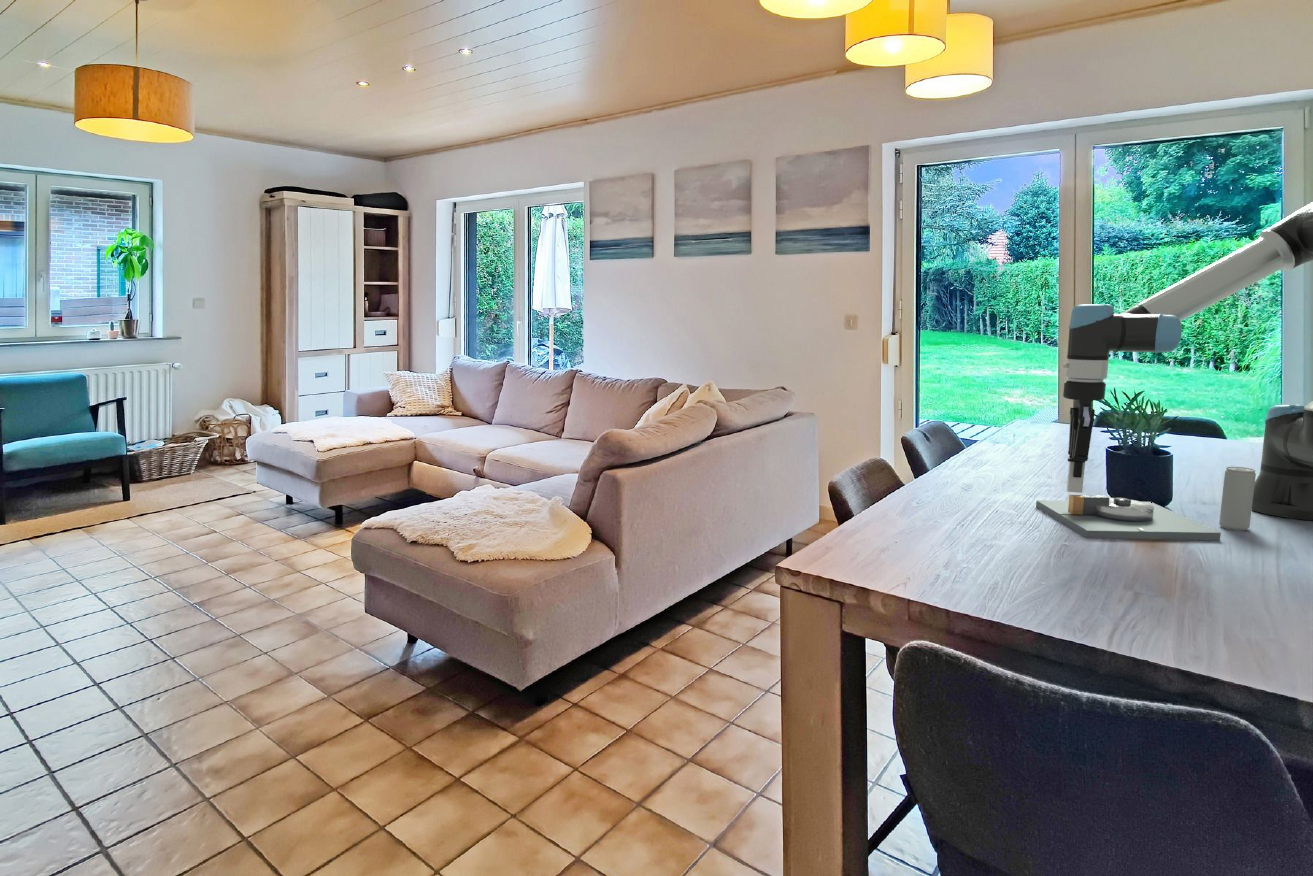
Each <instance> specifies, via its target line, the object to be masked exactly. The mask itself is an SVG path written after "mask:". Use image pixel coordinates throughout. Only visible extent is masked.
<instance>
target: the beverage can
mask: <svg viewBox="0 0 1313 876" xmlns="http://www.w3.org/2000/svg"><path fill="white" fill-rule="evenodd" d="M1225 468H1226V469H1225V471H1224V476H1223V486H1222V495H1221V504H1220V505H1221V506H1220V513H1219V522H1218V524H1219V526H1220V527H1221V528H1223V529H1225V530H1228V531H1229V530H1230V531H1236V532H1237V531H1240V532H1241V531H1242V532H1243V531H1244V530H1245V531H1247V530H1249V529H1250V525H1251V519H1252V511H1253V510H1252V502H1253V494H1254V485H1255V481H1256V475H1257V474H1256V469H1254V468H1249V467H1244V466H1226V467H1225Z"/></svg>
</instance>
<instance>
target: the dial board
mask: <svg viewBox="0 0 1313 876" xmlns="http://www.w3.org/2000/svg"><path fill="white" fill-rule="evenodd" d="M1035 502H1036V503H1035V507H1036V508H1037V509H1038V510H1041V511H1042V512H1043V513H1045V514H1047V515H1048V516H1050V517H1052V518H1054V519H1055V520H1056V521H1058V522H1060V523H1061V524H1063V525H1065V526H1066V527H1068V528H1069V529H1071V530H1073V531H1074V532H1075V533H1077V534H1079V535H1080V536H1083V537H1084V538H1085V539H1108V540H1109V539H1110V540H1111V539H1113V540H1115V539H1117V540H1119V539H1121V540H1125V539H1126V540H1164V541H1165V540H1171V541H1172V540H1173V541H1178V540H1180V541H1221V534H1222V533H1221V532H1220V531H1217V530H1216V529H1213V528H1211V527H1208V526H1207V525H1204V524H1202V523H1199V522H1197V521H1195V520H1193V519H1191V518H1189V517H1186V516H1184V515H1181V514H1179V513H1177V512H1175V511H1172V510H1170V509H1169V508H1166V507H1163V506H1161V505H1159V504H1156V503H1154V502H1152V501H1143V502H1144V503H1147V504H1150V505H1152V506H1153V507H1154V514H1153V518H1152V519H1151V520H1146V521H1127V520H1117V519H1111V518H1106V517H1102V516H1098V515H1089V514H1071V513H1069V512H1068V505H1069V500H1053V499H1052V500H1051V499H1050V500H1049V499H1047V500H1045V499H1044V500H1043V499H1042V500H1040V499H1038V500H1037V499H1036V501H1035ZM1151 502H1152V503H1151Z"/></svg>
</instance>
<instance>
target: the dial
mask: <svg viewBox="0 0 1313 876" xmlns="http://www.w3.org/2000/svg"><path fill="white" fill-rule="evenodd" d="M1068 501H1069V505H1068V512H1069V513H1071V514H1089V515H1098V516H1102V517H1106V518H1111V519H1117V520H1127V521H1146V520H1151V519H1152V518H1153V514H1154V507H1153V506H1152V505H1150V504H1147V503H1144V502H1145V501H1139V500H1135V499H1130V498H1126V497H1109V496H1107V495H1105V494H1104V495H1100V494H1095V495H1094V494H1069V495H1068Z"/></svg>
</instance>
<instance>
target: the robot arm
mask: <svg viewBox="0 0 1313 876" xmlns="http://www.w3.org/2000/svg"><path fill="white" fill-rule="evenodd" d="M1311 261H1313V201H1312V202H1310V203H1308V204H1306V205H1305V206H1304V207H1303V206H1302V208H1300V209H1298V210H1296V211H1295V212H1293V213H1291V214H1290V215H1288V216H1287V217H1285V218H1283V219H1281V220H1280V221H1278V222H1276V223H1275V224H1273V225H1271V226H1269V227H1267V228H1266V229H1264V230H1262V231H1260V233H1259V235H1258V237H1257V239H1256V240H1254V241H1252V242H1251V243H1248V244H1246V245H1244V246H1243V247H1241V248H1239V249H1237V250H1236V251H1234V252H1232V253H1230V254H1228V255H1226V256H1224V257H1222V258H1220V259H1219V260H1217V261H1215V262H1213V263H1212V264H1209V265H1208V266H1206V267H1204V268H1203V269H1200V270H1198V271H1196V272H1194V273H1192V274H1191V275H1189V276H1187V277H1186V278H1184V279H1182V280H1180V281H1178V282H1176V283H1174V284H1173V285H1171V286H1169V287H1167V288H1165V289H1163V290H1161V291H1159V292H1157V293H1156V294H1153V295H1152V296H1150V297H1149V298H1147V299H1144V300H1143V301H1141V302H1139V303H1138V304H1136V305H1134V306H1131V307H1129V308H1128V309H1127V310H1124V311H1122V312H1120V313H1115V311H1114V310H1115V309H1114V306H1113V305H1112V304H1077V305H1074V307H1073V308H1072V309H1071V315H1070V319H1069V325H1068V342H1067V353H1066V354H1067V355H1066V363H1065V362H1064V363H1062V368H1064V369H1065V374H1064V376H1065V378H1067V380H1065V381H1064V383H1063V393H1062V396H1063V398H1065V399H1066V400H1073V406H1070V409H1069V415H1070V416H1069V419H1070V420H1069V434H1068V435H1069V436H1068V437H1069V438H1068V439H1069V440H1068V451H1067V454H1068V457H1067V462H1069V463H1068V470H1067V471H1068V473H1067V482H1066V491H1067V492H1068V493H1078V494H1079V493H1080V494H1082V493H1083V488H1084V479H1085V478H1084V476H1085V468H1086V462H1087V461H1088V460H1089V453H1090V446H1091V445H1090V444H1091V439H1092V432H1093V427H1094V423H1095V421H1096V420H1095V409H1094V408H1093V401H1098V402H1099V401H1102V400H1104V399H1105V397H1106V396H1105V395H1106V387H1107V384H1106V382H1105V381H1104V380H1107V379H1108V368H1109V362H1110V361H1109V358H1110V357H1109V356H1110V352H1115V353H1116V352H1127V353H1129V352H1130V353H1155V354H1158V353H1171V352H1173V351H1175V350H1176V349H1177V348H1178V346H1179V344H1180V342H1181V338H1182V332H1183V330H1182V329H1183V328H1182V321H1184V320H1185V319H1188V318H1191V317H1192V316H1194V315H1195V314H1197V313H1199V312H1201V311H1203V310H1205V309H1207V308H1209V307H1212V306H1213V305H1215V304H1217V303H1218V302H1220V301H1222V300H1224V299H1226V298H1228V297H1230V296H1232V295H1234V294H1236V293H1238V292H1239V291H1242V290H1244V289H1245V288H1247V287H1250V286H1251V285H1253V284H1254V283H1257V282H1258V281H1261V280H1263V279H1265V278H1267V277H1269V276H1270V275H1273V274H1275V273H1276V272H1279V271H1285V272H1288V271H1291V270H1293V269H1295V268H1297V267H1299V266H1301V265H1303V264H1306V263H1309V262H1311ZM1264 423H1265V424H1264V434H1263V435H1264V436H1263V445H1262V453H1261V454H1262V455H1261V462H1260V470H1259V473H1258V476H1257V478H1255V485H1254V494H1253V502H1252V510H1251V511H1255V512H1257V513H1261V514H1264V515H1270V516H1276V517H1281V518H1287V519H1288V518H1289V519H1296V520H1308V521H1309V520H1310V521H1311V520H1313V400H1312V401H1310V402H1309V403H1307V404H1276V405H1272V406H1270V408H1268V411H1267V414H1266V418H1265V420H1264Z"/></svg>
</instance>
